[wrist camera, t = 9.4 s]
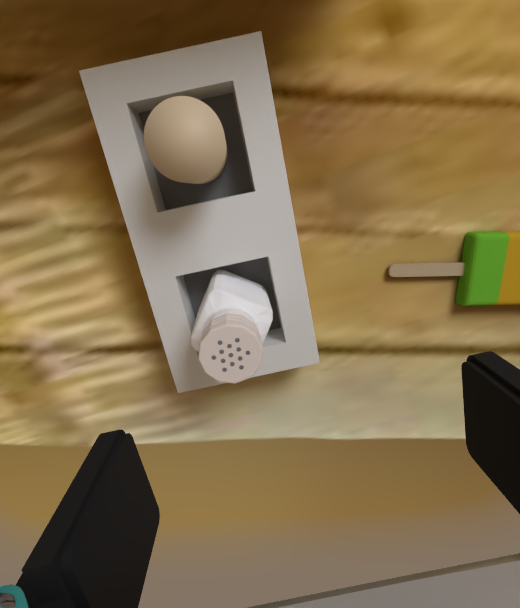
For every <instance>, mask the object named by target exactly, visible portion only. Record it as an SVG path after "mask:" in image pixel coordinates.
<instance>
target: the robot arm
mask: <svg viewBox="0 0 520 608" xmlns="http://www.w3.org/2000/svg"><path fill="white" fill-rule="evenodd" d="M462 383H463V399H464V416H465V432H466V445H467V449H468V451H469V453H470V455H471V457H472V458H473V459H474V460H475V462H476V463H477V464H478V465H479V466H480V468H481V469H482V470H483V471H484V472H485V473H486V475H487V476H488V477H489V478H490V479H491V481H492V482H493V483H494V484H495V485H496V486H497V487H498V489H499V490H500V491H501V492H502V494H503V495H504V496H505V497H506V498H507V499H508V501H509V502H510V503H511V504H512V505H513V507H514V508H515V509H516V510H517V511H518V512H519V514H520V370H519V369H518V368H516V367H515V366H513V365H512V364H510V363H509V362H507V361H506V360H504V359H503V358H501V357H500V356H498V355H497V354H495V353H494V352H491V351H490V352H484V353H480V354H475V355H470V356H468V358H467V362H464V363H462ZM158 524H159V508H158V505H157V502H156V499H155V497H154V494H153V492H152V489H151V486H150V483H149V480H148V478H147V475H146V472H145V470H144V467H143V464H142V462H141V459H140V456H139V454H138V451H137V448H136V445H135V443H134V440H133V437H132V435H131V434H130V433H127V434H125V432H124V431H123V430H116V431H111V432H107V433H102V434H100V435H99V436H98V438H97V440H96V442H95V443H94V445H93V447H92V449H91V450H90V452H89V454H88V456H87V457H86V459H85V461H84V462H83V464H82V466H81V468H80V469H79V471H78V473H77V475H76V476H75V478H74V480H73V482H72V483H71V485H70V487H69V488H68V490H67V492H66V494H65V495H64V497H63V499H62V501H61V502H60V504H59V506H58V508H57V509H56V511H55V513H54V515H53V516H52V518H51V520H50V522H49V524H48V525H47V527H46V528H45V530H44V532H43V534H42V536H41V537H40V539H39V541H38V542H37V544H36V546H35V548H34V549H33V551H32V553H31V555H30V556H29V558H28V560H27V561H26V563H25V565H24V567H23V569H22V572H23V573H22V575H21V577H20V578H19V580H18V582H17V584H16V586H15V585H6V586H1V587H0V608H138V605H139V601H140V597H141V593H142V589H143V585H144V581H145V577H146V572H147V569H148V564H149V560H150V557H151V552H152V549H153V545H154V541H155V537H156V532H157V528H158ZM248 608H520V554H515V555H509V556H504V557H499V558H494V559H489V560H483V561H478V562H473V563H468V564H463V565H458V566H453V567H447V568H442V569H437V570H432V571H427V572H422V573H416V574H411V575H406V576H401V577H396V578H392V579H386V580H381V581H376V582H372V583H366V584H361V585H356V586H351V587H346V588H342V589H336V590H332V591H326V592H321V593H317V594H311V595H307V596H302V597H297V598H292V599H287V600H282V601H277V602H272V603H267V604H262V605H257V606H253V607H248Z"/></svg>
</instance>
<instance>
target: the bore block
mask: <svg viewBox="0 0 520 608" xmlns="http://www.w3.org/2000/svg"><path fill="white" fill-rule="evenodd" d="M79 73H80V76H81V80H82V83H83V86H84V89H85V93H86V96H87V99H88V102H89V106H90V109H91V112H92V115H93V119H94V122H95V125H96V128H97V132H98V135H99V138H100V141H101V145H102V148H103V151H104V154H105V158H106V161H107V164H108V167H109V171H110V174H111V177H112V180H113V184H114V187H115V190H116V193H117V197H118V200H119V203H120V206H121V210H122V213H123V216H124V219H125V223H126V226H127V229H128V232H129V236H130V239H131V242H132V245H133V249H134V252H135V255H136V258H137V262H138V265H139V268H140V271H141V275H142V278H143V281H144V285H145V288H146V291H147V294H148V298H149V301H150V304H151V307H152V311H153V314H154V317H155V320H156V324H157V327H158V330H159V333H160V337H161V340H162V343H163V346H164V350H165V353H166V356H167V359H168V363H169V366H170V369H171V372H172V376H173V379H174V382H175V385H176V389H177V392H178V393H183V392H187V391H192V390H197V389H201V388H206V387H210V386H215V385H220V384H224V383H223V382H218V381H217V380H215V379H214V378H212V377H210V376H209V375H207V374H206V373H205V372H204V370H203V368H202V366H201V364H200V362H199V360H198V356H199V352H198V351H196V350H195V349H194V348H193V347H192V346H191V340H190V337H191V334H192V331H193V327H194V324H195V321H196V317H197V314H198V311H199V308H200V305H201V303H202V300H203V298H204V295H205V293H206V290H207V288H208V285H209V283H210V280H211V278H212V275H213V274H214V273H215V272H216V271H217V270H225V271H228V272H230V273H233V274H235V275H238V276H240V277H243V278H245V279H248V280H250V281H253V282H255V283H258V284H260V285H262V286H263V287H264V288H265V289H266V292H267V295H268V298H269V301H270V305H271V308H272V311H273V320H272V323H271V326H270V328H269V331H268V333H267V335H266V338H265V340H264V342H263V344H262V345H263V356H262V363H261V366H260V367H259V368H258V370H257V371H256V372H255V373H254V374H253V376H252V377H256V376H261V375H266V374H270V373H275V372H279V371H284V370H289V369H293V368H298V367H302V366H307V365H312V364H316V363H320V361H319V356H318V350H317V344H316V339H315V333H314V327H313V322H312V316H311V310H310V305H309V299H308V293H307V288H306V282H305V276H304V271H303V265H302V259H301V254H300V248H299V242H298V237H297V231H296V225H295V220H294V214H293V208H292V203H291V197H290V191H289V186H288V180H287V174H286V169H285V163H284V157H283V152H282V146H281V140H280V135H279V129H278V123H277V118H276V112H275V106H274V101H273V95H272V89H271V84H270V78H269V72H268V67H267V61H266V55H265V50H264V44H263V38H262V33H261V31H259V32H254V33H250V34H245V35H240V36H236V37H231V38H227V39H222V40H217V41H213V42H208V43H204V44H199V45H194V46H190V47H185V48H181V49H176V50H171V51H167V52H162V53H158V54H153V55H148V56H144V57H139V58H135V59H130V60H125V61H121V62H116V63H112V64H107V65H102V66H98V67H93V68H89V69H84V70H79ZM252 377H251V378H252Z"/></svg>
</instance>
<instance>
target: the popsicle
mask: <svg viewBox="0 0 520 608" xmlns="http://www.w3.org/2000/svg"><path fill="white" fill-rule="evenodd" d="M501 239H502V240H501ZM388 273H389V275H390V276H392V277H424V276H459V280H458V287H457V293H456V300H455V302H456V303H457V304H459V305H462V306H477V305H517V304H520V231H480V232H468V233H466V235H465V239H464V245H463V252H462V259H461V262H455V263H401V264H391V265H390V266H389V269H388ZM501 282H502V283H501ZM498 299H499V300H498Z"/></svg>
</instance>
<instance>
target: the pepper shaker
mask: <svg viewBox="0 0 520 608" xmlns="http://www.w3.org/2000/svg"><path fill="white" fill-rule="evenodd" d="M272 320H273V311H272V308H271V305H270V301H269V298H268V295H267V292H266V289H265V288H264V287H263V286H262V285H260V284H258V283H255V282H253V281H250V280H248V279H245V278H243V277H240V276H238V275H235V274H233V273H230V272H228V271H225V270H217V271H216V272H215V273H214V274H213V275H212V278H211V280H210V283H209V285H208V288H207V290H206V293H205V295H204V298H203V300H202V303H201V305H200V308H199V311H198V314H197V317H196V321H195V324H194V327H193V331H192V334H191V337H190V340H191V346H192V347H193V348H194V349H195V350H196V351H198V352H199V356H198V360H199V362H200V364H201V366H202V368H203V370H204V372H205V373H206V374H207V375H209V376H210V377H212V378H214V379H215V380H217V381H218V382H223V383H233V384H236V383H238V382H241V381H244V380H246V379H249V378H251V377H252V376H253V374H254V373H255V372H256V371H257V370H258V368H259V367H260V366H261V363H262V356H263V345H262V344H263V342H264V340H265V338H266V335H267V333H268V331H269V328H270V326H271V323H272Z"/></svg>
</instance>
